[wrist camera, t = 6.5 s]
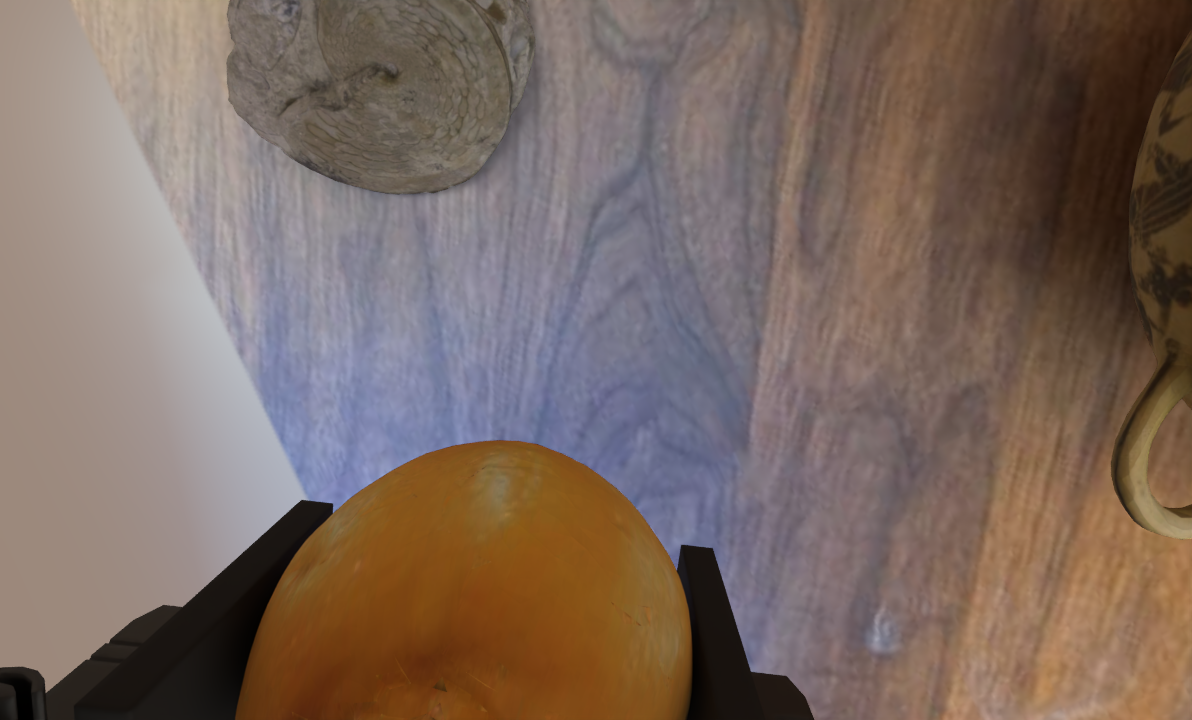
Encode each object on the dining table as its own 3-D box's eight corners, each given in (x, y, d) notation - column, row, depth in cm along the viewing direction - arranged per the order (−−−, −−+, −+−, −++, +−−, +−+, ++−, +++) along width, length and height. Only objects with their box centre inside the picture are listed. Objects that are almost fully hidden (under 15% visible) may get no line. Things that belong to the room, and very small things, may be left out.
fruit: (415, 297, 12) (72, 809, 6) (783, 474, 13) (799, 1034, 7) (345, 501, 17) (134, 868, 11) (610, 611, 19) (539, 989, 13)
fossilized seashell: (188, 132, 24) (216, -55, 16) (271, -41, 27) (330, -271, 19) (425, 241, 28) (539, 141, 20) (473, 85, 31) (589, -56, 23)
